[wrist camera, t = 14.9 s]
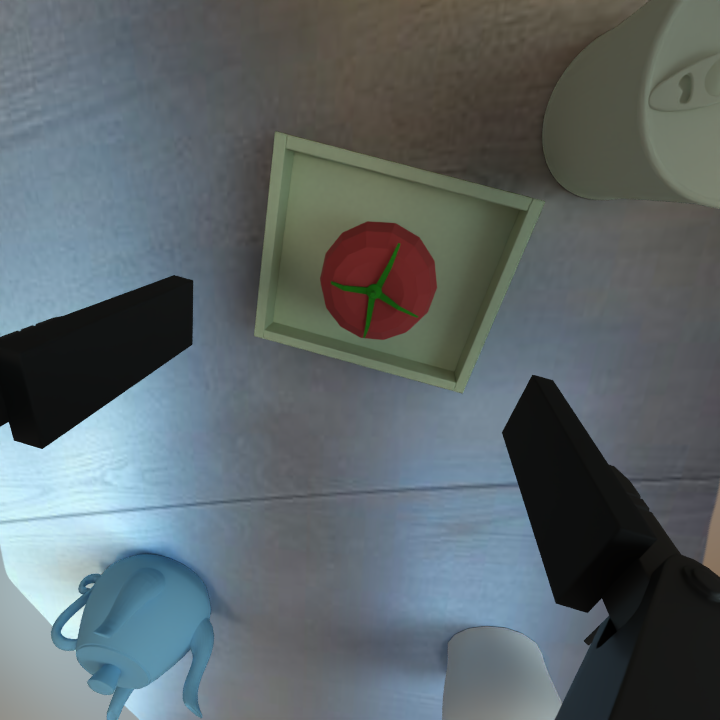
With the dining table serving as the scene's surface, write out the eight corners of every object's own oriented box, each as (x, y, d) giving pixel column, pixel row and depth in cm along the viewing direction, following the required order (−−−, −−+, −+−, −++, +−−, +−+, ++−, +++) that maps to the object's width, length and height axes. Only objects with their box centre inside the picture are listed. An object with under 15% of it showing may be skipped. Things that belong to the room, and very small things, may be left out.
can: (538, 52, 21) (657, -80, 11) (723, -8, 19) (1099, -246, 9) (543, 214, 25) (636, 237, 14) (700, 179, 23) (945, 174, 12)
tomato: (456, 252, 26) (469, 276, 20) (400, 337, 30) (395, 382, 23) (360, 195, 26) (339, 199, 19) (315, 289, 29) (283, 321, 22)
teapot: (250, 609, 52) (206, 722, 41) (165, 630, 58) (106, 733, 47) (169, 530, 47) (93, 636, 36) (85, 563, 53) (-2, 661, 42)
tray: (533, 199, 25) (545, 201, 22) (459, 378, 31) (462, 393, 29) (288, 135, 25) (274, 130, 23) (265, 325, 32) (253, 336, 30)
